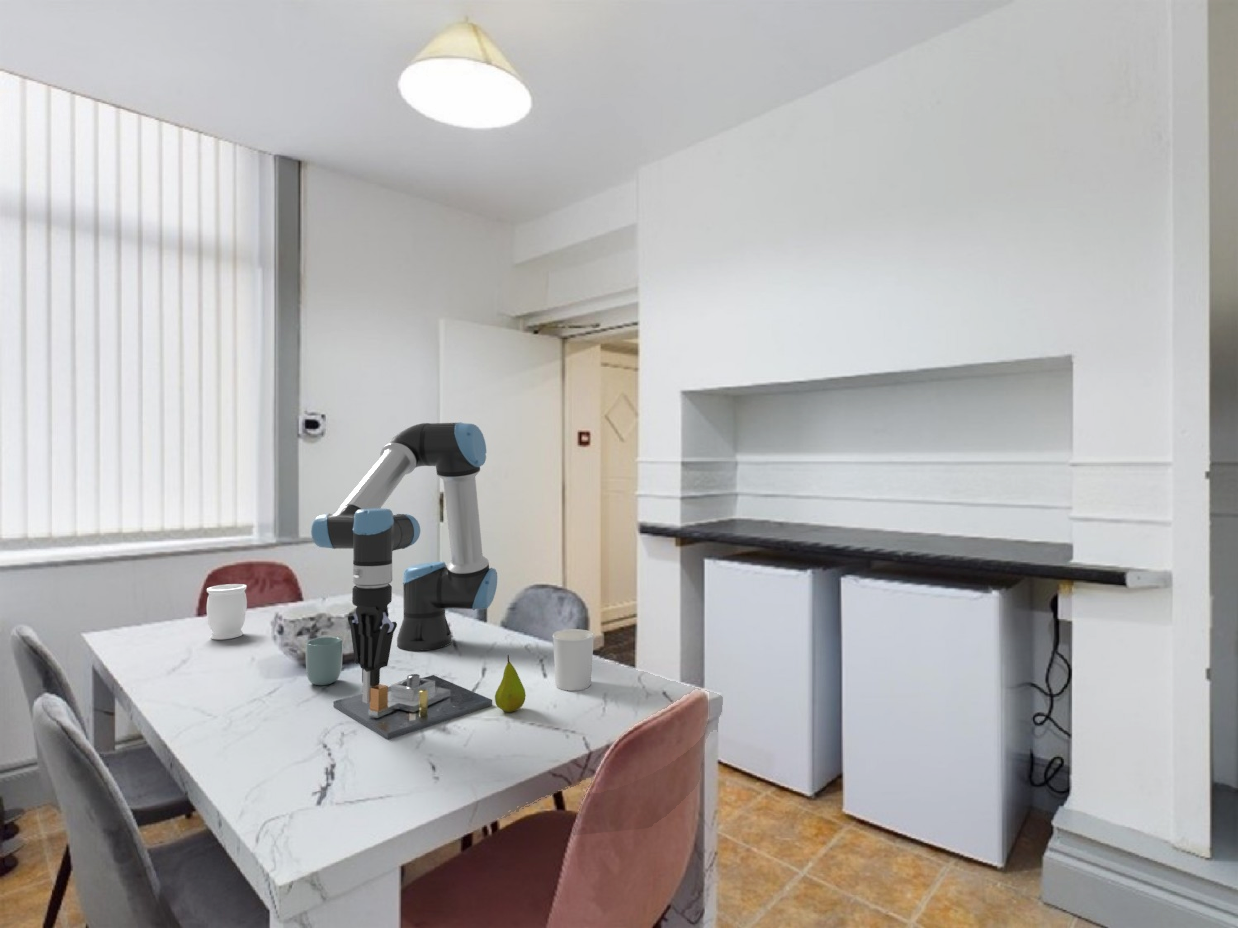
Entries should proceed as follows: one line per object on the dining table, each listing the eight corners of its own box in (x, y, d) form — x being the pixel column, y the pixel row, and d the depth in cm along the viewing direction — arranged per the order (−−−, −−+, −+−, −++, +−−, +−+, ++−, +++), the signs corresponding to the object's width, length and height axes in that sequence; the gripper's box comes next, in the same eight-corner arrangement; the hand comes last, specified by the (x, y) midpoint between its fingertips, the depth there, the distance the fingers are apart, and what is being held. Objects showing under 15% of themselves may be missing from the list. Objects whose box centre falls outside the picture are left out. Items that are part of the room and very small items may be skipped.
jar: (233, 641, 191) (233, 590, 191) (198, 641, 191) (198, 590, 191) (254, 631, 202) (254, 583, 202) (220, 631, 202) (220, 583, 202)
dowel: (424, 713, 133) (424, 688, 133) (428, 715, 132) (428, 690, 132) (417, 715, 132) (417, 690, 132) (421, 717, 131) (421, 692, 131)
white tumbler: (543, 685, 154) (543, 634, 154) (574, 675, 161) (574, 626, 161) (572, 695, 147) (572, 642, 147) (602, 684, 155) (602, 634, 155)
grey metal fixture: (412, 687, 148) (412, 662, 148) (450, 695, 143) (450, 669, 143) (353, 711, 133) (353, 684, 133) (393, 721, 128) (393, 693, 128)
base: (433, 679, 158) (433, 652, 158) (492, 705, 141) (492, 675, 141) (333, 706, 140) (333, 676, 140) (387, 739, 124) (387, 705, 124)
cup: (328, 689, 151) (328, 646, 151) (298, 687, 152) (298, 644, 152) (348, 678, 158) (348, 637, 158) (320, 676, 160) (320, 635, 160)
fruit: (524, 704, 142) (525, 649, 142) (525, 715, 136) (525, 657, 136) (495, 705, 141) (495, 650, 141) (494, 716, 135) (494, 659, 135)
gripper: (336, 583, 133) (334, 699, 133) (376, 591, 126) (374, 713, 126) (368, 578, 140) (366, 688, 140) (408, 585, 133) (406, 701, 132)
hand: (370, 700), depth 133 cm, fingers closed
